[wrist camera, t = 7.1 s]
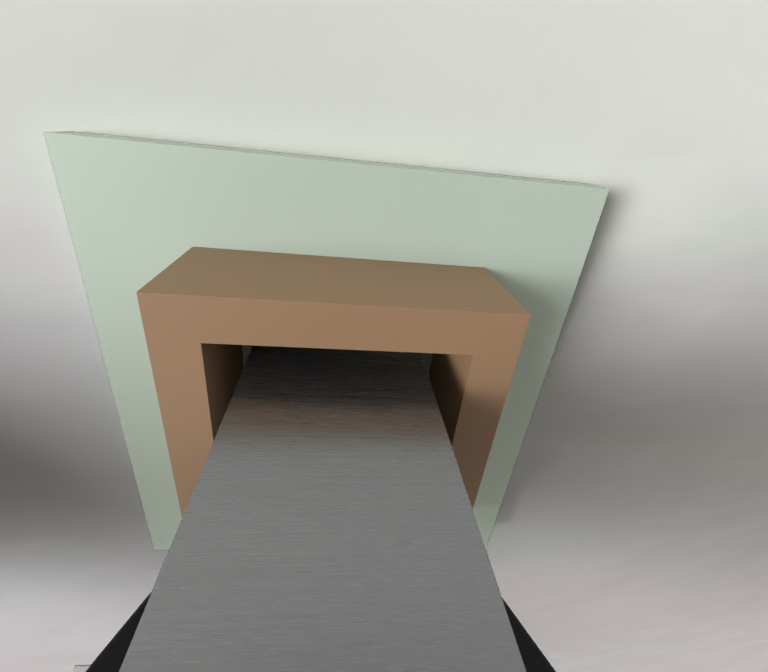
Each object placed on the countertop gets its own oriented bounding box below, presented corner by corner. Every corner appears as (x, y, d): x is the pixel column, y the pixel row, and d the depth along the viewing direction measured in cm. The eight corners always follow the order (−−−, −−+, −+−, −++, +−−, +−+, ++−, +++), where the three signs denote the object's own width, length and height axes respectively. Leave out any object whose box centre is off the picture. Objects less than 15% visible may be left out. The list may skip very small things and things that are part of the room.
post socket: (164, 526, 16) (112, 642, 12) (71, 131, 9) (-96, 135, 6) (480, 523, 17) (514, 625, 14) (587, 183, 11) (704, 212, 7)
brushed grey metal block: (263, 518, 12) (148, 1071, 5) (252, 346, 9) (-35, 1042, 2) (393, 516, 13) (456, 1019, 6) (421, 353, 10) (616, 943, 3)
